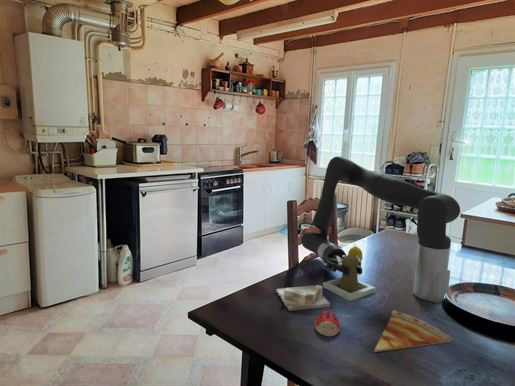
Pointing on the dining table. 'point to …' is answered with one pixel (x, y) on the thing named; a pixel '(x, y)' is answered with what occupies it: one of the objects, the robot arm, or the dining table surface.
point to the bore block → (349, 296)
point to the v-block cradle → (303, 297)
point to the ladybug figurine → (327, 324)
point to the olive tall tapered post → (350, 274)
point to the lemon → (355, 252)
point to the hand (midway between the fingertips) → (354, 272)
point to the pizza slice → (409, 333)
